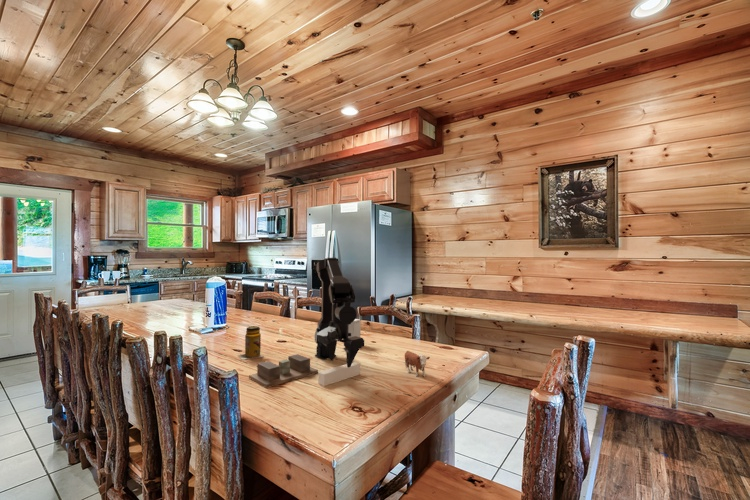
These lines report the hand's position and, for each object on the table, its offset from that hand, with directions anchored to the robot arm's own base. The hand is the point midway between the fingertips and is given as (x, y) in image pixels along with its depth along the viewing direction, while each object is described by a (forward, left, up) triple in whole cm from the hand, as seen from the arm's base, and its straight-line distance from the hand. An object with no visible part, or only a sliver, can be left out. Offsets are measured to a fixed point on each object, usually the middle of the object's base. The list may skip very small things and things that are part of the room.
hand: (340, 363), depth 119 cm
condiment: (+10, -46, -5) cm, 47 cm away
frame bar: (0, 0, -5) cm, 5 cm away
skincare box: (-32, -29, -5) cm, 43 cm away
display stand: (+12, -16, -5) cm, 21 cm away
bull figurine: (-22, +16, -5) cm, 28 cm away
